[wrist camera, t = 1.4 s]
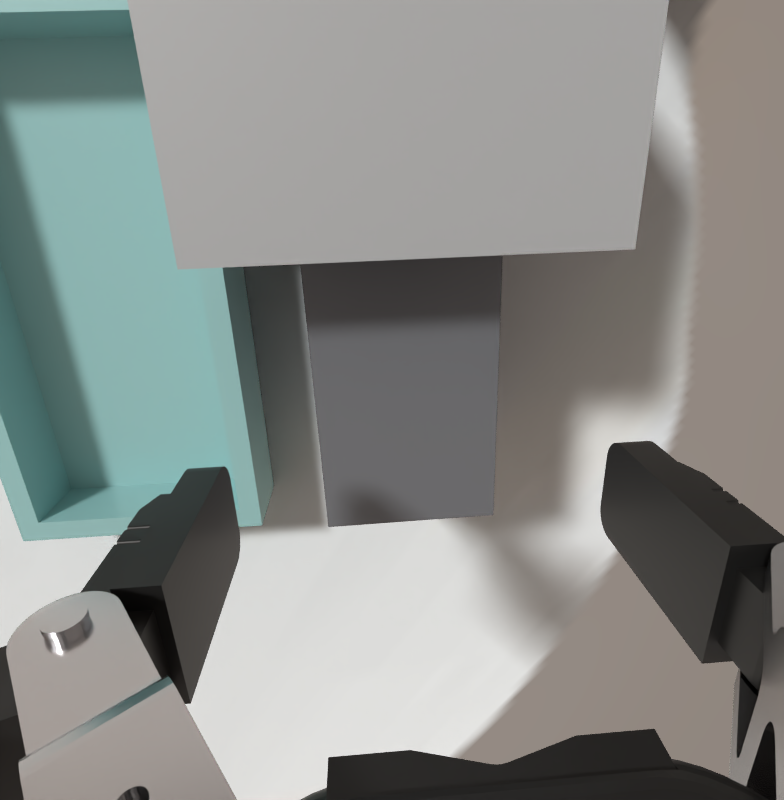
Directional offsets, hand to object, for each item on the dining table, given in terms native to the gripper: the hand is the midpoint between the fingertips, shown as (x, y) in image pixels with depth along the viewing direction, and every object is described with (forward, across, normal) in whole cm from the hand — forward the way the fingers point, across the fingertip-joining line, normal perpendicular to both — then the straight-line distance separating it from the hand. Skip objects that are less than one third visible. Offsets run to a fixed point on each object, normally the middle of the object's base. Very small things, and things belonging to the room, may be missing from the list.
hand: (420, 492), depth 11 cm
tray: (+12, +10, -3) cm, 16 cm away
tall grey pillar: (+12, 0, -3) cm, 12 cm away
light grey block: (+11, 0, -9) cm, 14 cm away
